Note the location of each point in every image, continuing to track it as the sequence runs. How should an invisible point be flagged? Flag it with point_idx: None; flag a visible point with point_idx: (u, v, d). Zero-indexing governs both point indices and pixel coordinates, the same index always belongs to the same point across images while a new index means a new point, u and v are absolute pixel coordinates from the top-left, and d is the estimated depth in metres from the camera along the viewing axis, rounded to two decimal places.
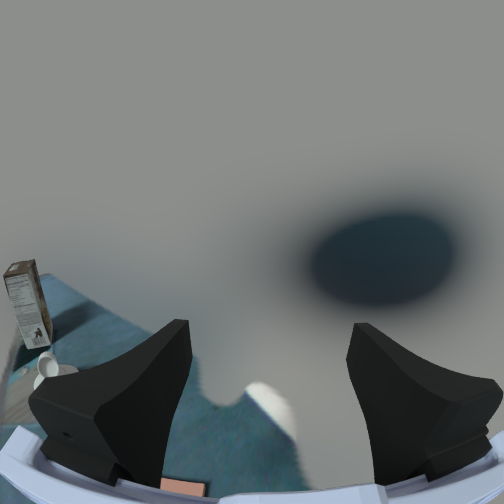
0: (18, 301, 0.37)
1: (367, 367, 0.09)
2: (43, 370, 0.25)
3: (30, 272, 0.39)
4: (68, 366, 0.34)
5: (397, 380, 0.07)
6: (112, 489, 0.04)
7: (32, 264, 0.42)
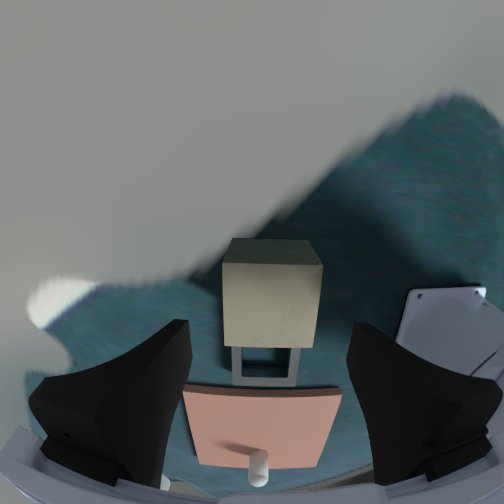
0: None
1: (367, 367, 0.09)
2: None
3: None
4: None
5: (397, 380, 0.07)
6: (112, 489, 0.04)
7: None
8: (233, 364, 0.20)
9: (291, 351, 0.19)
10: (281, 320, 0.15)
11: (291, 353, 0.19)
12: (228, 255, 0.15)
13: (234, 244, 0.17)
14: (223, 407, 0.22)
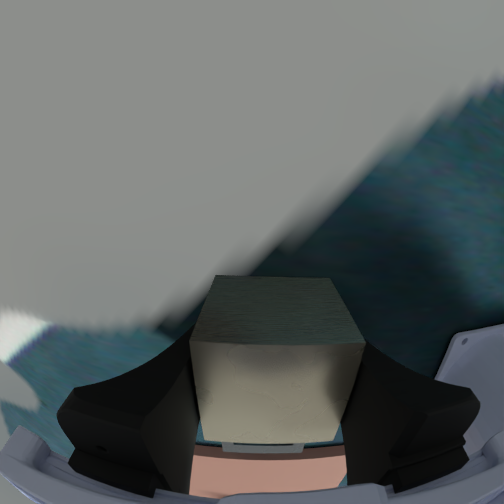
0: None
1: None
2: None
3: None
4: None
5: (367, 384, 0.07)
6: (150, 501, 0.04)
7: None
8: None
9: None
10: (289, 416, 0.08)
11: None
12: (203, 320, 0.08)
13: (217, 290, 0.11)
14: (213, 467, 0.16)
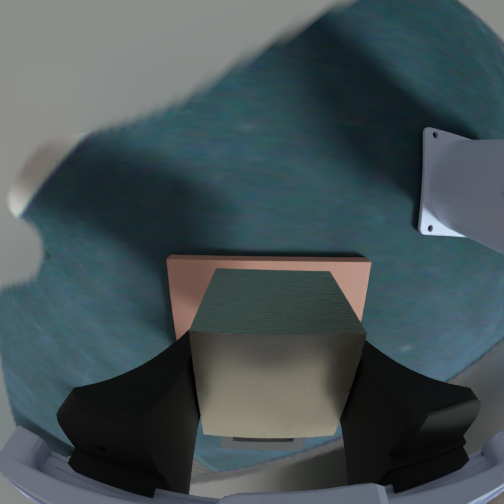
0: None
1: None
2: None
3: None
4: None
5: (367, 384, 0.07)
6: (150, 501, 0.04)
7: None
8: None
9: None
10: (289, 409, 0.08)
11: None
12: (202, 310, 0.08)
13: (217, 282, 0.11)
14: None
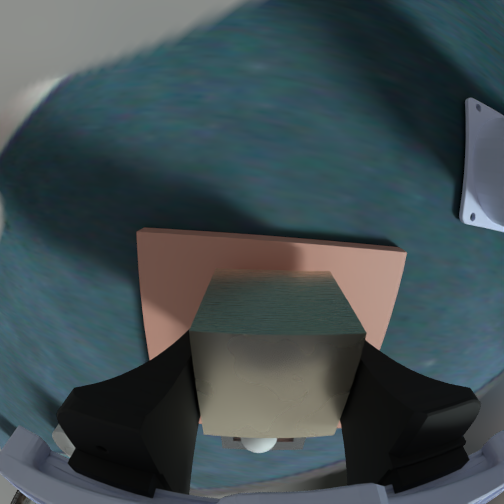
0: None
1: None
2: None
3: None
4: (57, 444, 0.19)
5: (367, 384, 0.07)
6: (150, 500, 0.04)
7: None
8: None
9: None
10: (289, 409, 0.08)
11: None
12: (203, 310, 0.08)
13: (217, 282, 0.11)
14: (203, 269, 0.14)
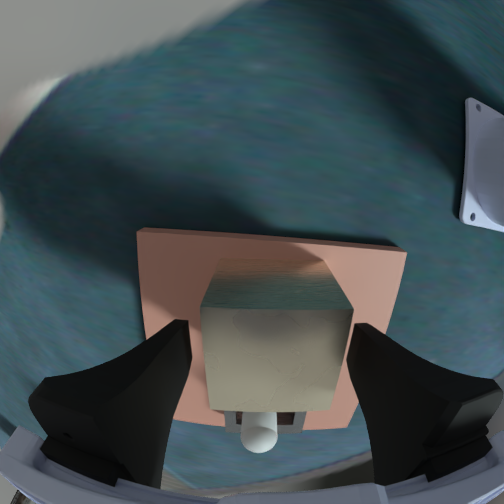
0: None
1: (367, 367, 0.09)
2: None
3: None
4: None
5: (397, 380, 0.07)
6: (112, 489, 0.04)
7: None
8: (225, 412, 0.15)
9: None
10: (288, 381, 0.10)
11: None
12: (210, 291, 0.10)
13: (222, 269, 0.12)
14: (203, 269, 0.14)
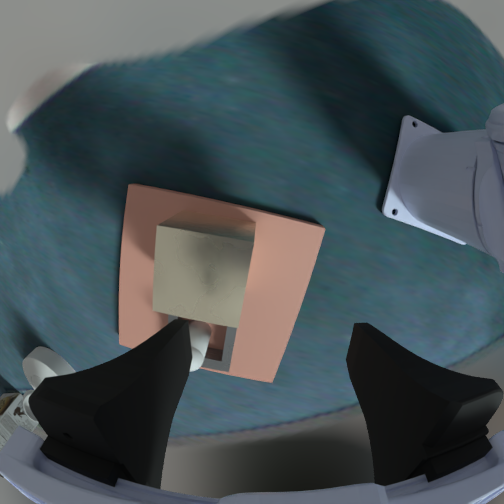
0: None
1: (367, 367, 0.09)
2: None
3: None
4: (25, 373, 0.23)
5: (397, 380, 0.07)
6: (112, 489, 0.04)
7: None
8: None
9: (226, 334, 0.19)
10: (207, 292, 0.15)
11: (226, 336, 0.19)
12: (167, 221, 0.15)
13: (180, 214, 0.17)
14: (169, 217, 0.19)
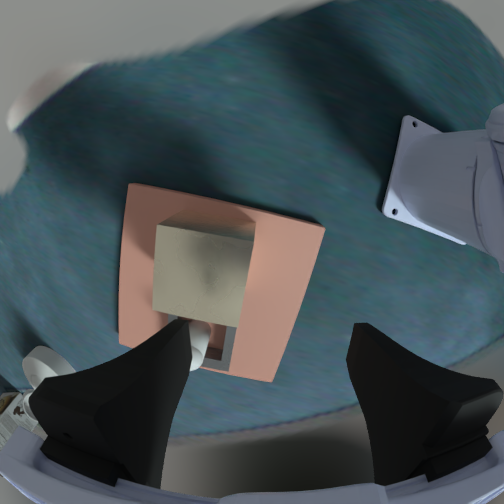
0: None
1: (367, 367, 0.09)
2: None
3: None
4: (25, 372, 0.23)
5: (397, 380, 0.07)
6: (112, 489, 0.04)
7: None
8: None
9: (226, 333, 0.19)
10: (207, 292, 0.15)
11: (226, 335, 0.19)
12: (167, 220, 0.15)
13: (180, 214, 0.17)
14: (169, 216, 0.19)
